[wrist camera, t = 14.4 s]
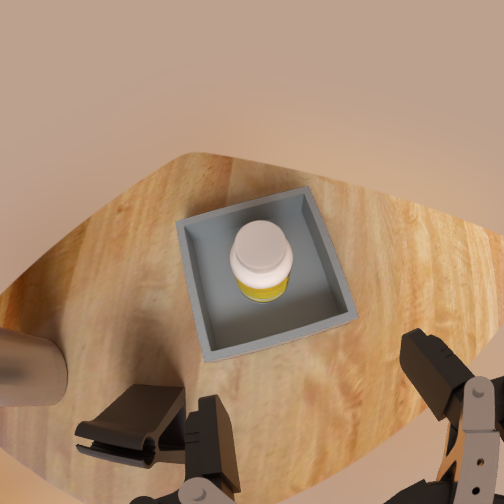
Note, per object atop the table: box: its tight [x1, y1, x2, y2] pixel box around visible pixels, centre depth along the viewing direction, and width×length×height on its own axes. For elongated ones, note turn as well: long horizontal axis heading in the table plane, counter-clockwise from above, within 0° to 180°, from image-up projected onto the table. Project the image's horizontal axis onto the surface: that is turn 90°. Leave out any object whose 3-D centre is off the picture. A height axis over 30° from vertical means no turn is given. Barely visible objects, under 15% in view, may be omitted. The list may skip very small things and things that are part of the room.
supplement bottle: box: [230, 220, 293, 304], centre depth 27 cm, size 5×5×10 cm
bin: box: [175, 186, 359, 362], centre depth 31 cm, size 15×15×4 cm
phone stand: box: [75, 384, 186, 469], centre depth 22 cm, size 9×6×12 cm, turn 2°
